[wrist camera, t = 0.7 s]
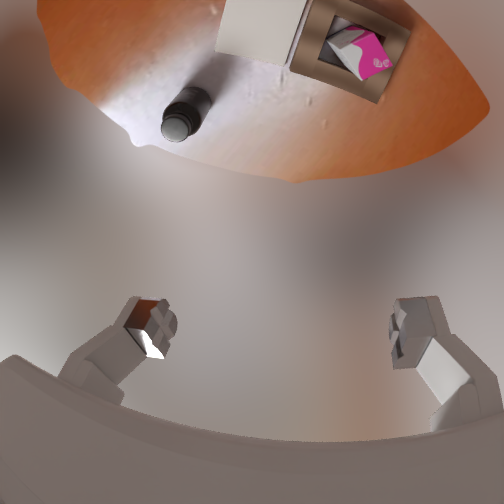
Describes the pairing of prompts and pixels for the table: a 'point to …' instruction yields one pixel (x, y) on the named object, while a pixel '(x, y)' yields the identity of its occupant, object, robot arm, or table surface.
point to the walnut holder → (308, 64)
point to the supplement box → (359, 51)
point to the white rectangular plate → (259, 29)
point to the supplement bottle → (185, 114)
